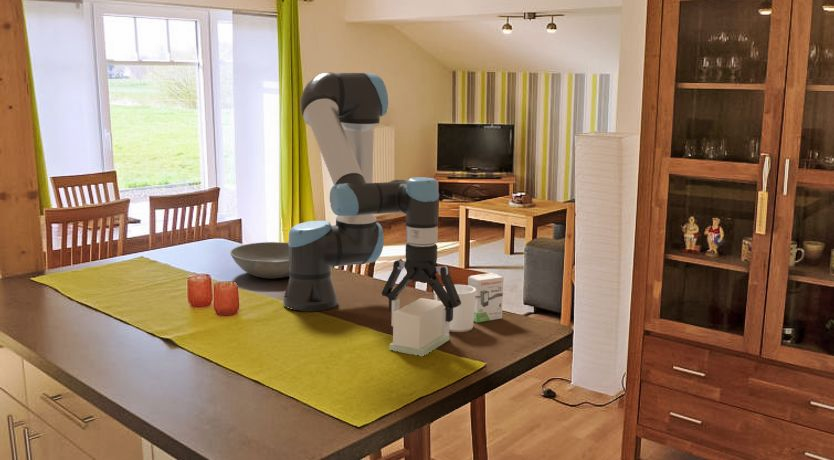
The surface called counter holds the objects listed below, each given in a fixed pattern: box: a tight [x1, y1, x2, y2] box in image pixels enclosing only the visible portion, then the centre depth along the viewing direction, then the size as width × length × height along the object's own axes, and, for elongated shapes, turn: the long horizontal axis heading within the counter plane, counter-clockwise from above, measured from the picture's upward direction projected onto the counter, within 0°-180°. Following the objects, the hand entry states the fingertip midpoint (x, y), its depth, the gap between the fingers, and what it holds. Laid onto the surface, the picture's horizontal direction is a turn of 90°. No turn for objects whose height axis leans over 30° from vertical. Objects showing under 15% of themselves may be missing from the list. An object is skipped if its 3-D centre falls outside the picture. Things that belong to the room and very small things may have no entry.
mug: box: [433, 284, 476, 333], centre depth 204 cm, size 11×9×10 cm
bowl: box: [230, 241, 289, 280], centre depth 255 cm, size 27×28×8 cm
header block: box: [389, 333, 450, 357], centre depth 190 cm, size 9×14×6 cm, turn 152°
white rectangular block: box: [392, 297, 445, 349], centre depth 189 cm, size 14×7×8 cm, turn 152°
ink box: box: [467, 272, 505, 323], centre depth 212 cm, size 9×5×12 cm, turn 121°
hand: (420, 329), depth 190 cm, fingers open, 13 cm apart
